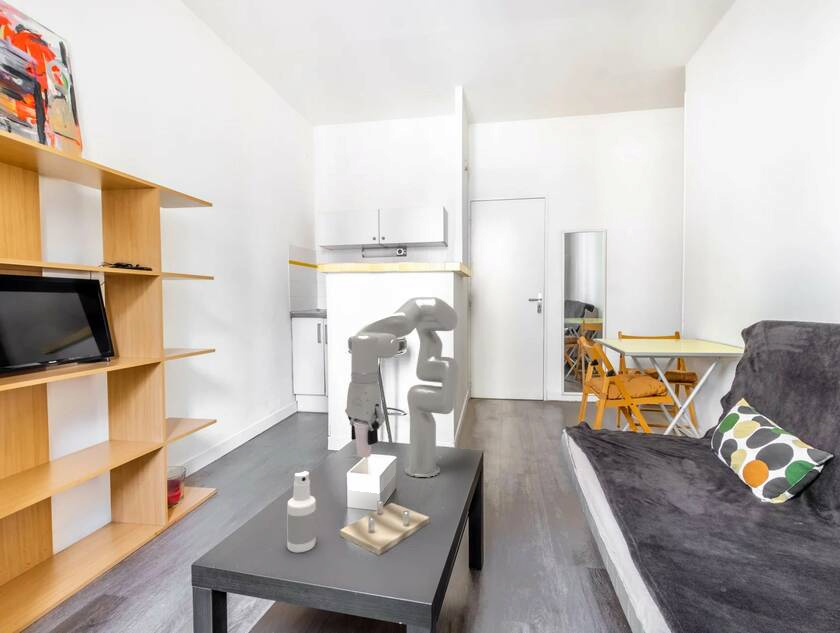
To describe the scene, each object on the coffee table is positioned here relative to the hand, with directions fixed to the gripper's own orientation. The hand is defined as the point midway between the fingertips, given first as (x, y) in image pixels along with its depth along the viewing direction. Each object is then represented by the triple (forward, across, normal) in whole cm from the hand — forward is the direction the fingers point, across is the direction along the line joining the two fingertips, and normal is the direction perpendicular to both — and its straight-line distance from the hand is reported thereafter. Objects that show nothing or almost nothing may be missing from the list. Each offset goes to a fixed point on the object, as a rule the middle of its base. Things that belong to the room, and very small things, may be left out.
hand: (364, 440), depth 119 cm
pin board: (+22, +10, -1) cm, 24 cm away
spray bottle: (+22, -1, -20) cm, 30 cm away
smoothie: (+4, 0, 0) cm, 4 cm away
